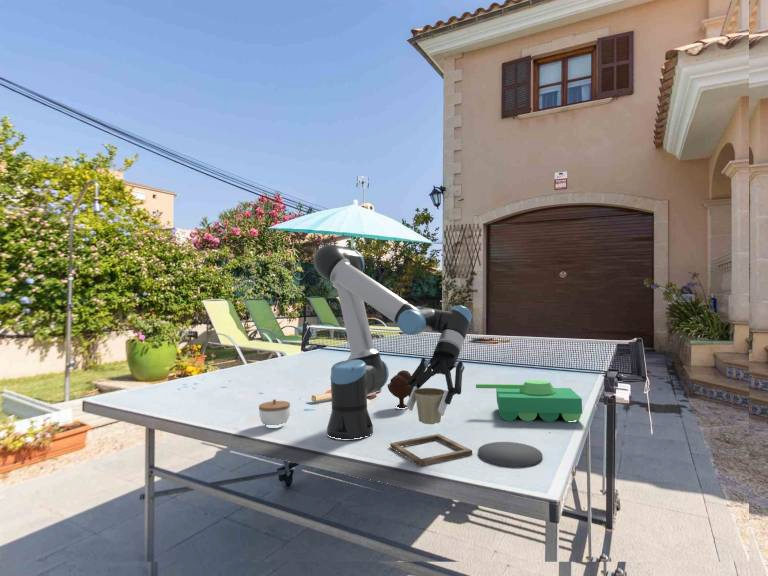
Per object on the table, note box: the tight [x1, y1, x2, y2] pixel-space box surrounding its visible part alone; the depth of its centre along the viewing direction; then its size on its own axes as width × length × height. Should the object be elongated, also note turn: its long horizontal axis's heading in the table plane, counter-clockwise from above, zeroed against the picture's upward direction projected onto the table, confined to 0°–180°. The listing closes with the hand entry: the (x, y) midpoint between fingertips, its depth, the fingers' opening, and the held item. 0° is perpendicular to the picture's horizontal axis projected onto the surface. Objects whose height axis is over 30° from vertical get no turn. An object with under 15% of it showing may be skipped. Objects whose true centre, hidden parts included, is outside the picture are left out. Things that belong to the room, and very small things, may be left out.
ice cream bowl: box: [386, 369, 412, 408], centre depth 173 cm, size 11×11×15 cm
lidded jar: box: [258, 399, 291, 426], centre depth 153 cm, size 11×11×9 cm
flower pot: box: [413, 387, 445, 425], centre depth 124 cm, size 9×9×9 cm
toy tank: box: [475, 379, 583, 422], centre depth 158 cm, size 18×12×35 cm
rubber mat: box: [477, 441, 543, 468], centre depth 119 cm, size 17×17×1 cm
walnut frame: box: [389, 433, 473, 467], centre depth 124 cm, size 17×17×1 cm
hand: (424, 410), depth 121 cm, fingers closed on flower pot, 9 cm apart
